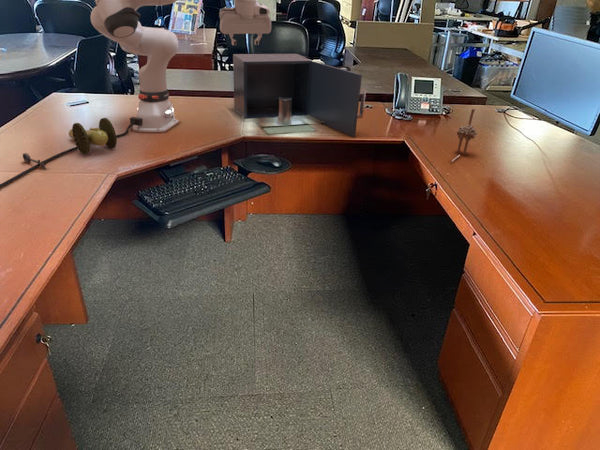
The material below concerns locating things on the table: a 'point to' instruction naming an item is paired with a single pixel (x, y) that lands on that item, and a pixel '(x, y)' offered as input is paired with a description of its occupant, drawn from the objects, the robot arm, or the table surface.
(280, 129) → the desk mat
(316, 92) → the cupboard door
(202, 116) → the table surface
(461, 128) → the ostrich figurine
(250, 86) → the cupboard
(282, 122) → the steel tumbler
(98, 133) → the cannon
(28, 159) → the key
